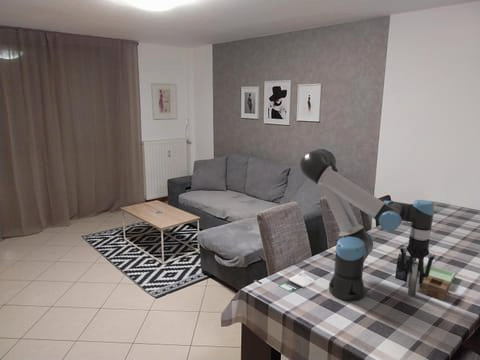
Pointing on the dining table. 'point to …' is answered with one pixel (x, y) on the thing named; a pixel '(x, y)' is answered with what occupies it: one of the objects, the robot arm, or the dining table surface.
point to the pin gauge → (413, 278)
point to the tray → (440, 273)
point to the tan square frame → (435, 287)
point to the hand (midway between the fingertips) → (412, 288)
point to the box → (399, 272)
